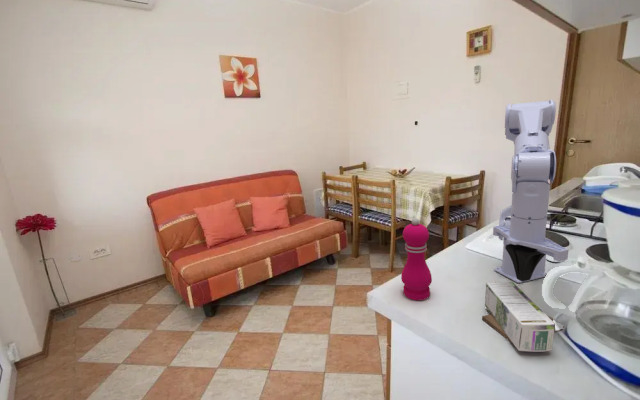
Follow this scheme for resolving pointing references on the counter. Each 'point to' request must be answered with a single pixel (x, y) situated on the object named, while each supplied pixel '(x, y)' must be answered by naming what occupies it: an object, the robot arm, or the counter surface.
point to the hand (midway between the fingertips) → (523, 279)
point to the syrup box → (519, 317)
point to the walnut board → (497, 325)
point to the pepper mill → (416, 262)
